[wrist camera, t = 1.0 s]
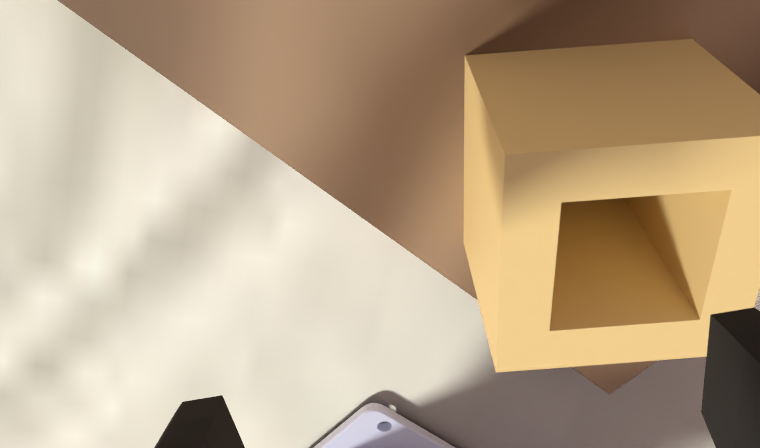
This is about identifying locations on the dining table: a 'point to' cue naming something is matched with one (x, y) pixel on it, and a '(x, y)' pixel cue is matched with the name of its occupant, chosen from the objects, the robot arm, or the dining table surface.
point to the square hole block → (609, 201)
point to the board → (392, 88)
